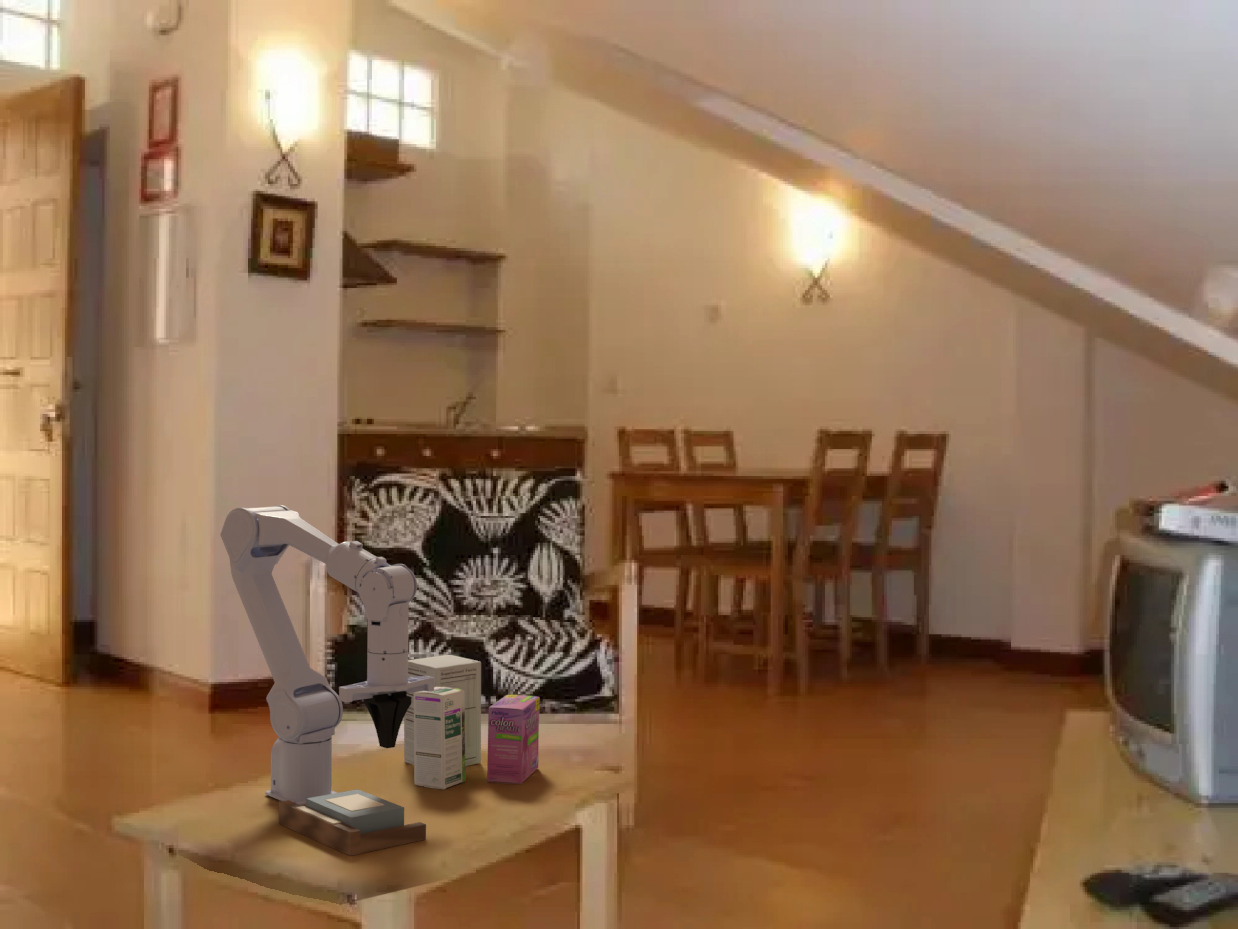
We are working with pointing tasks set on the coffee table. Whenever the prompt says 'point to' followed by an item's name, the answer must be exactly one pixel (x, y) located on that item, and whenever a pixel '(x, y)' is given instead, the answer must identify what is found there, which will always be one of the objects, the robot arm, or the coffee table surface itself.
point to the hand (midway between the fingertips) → (387, 746)
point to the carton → (359, 810)
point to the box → (513, 739)
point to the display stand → (345, 830)
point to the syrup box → (439, 737)
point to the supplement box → (457, 676)
